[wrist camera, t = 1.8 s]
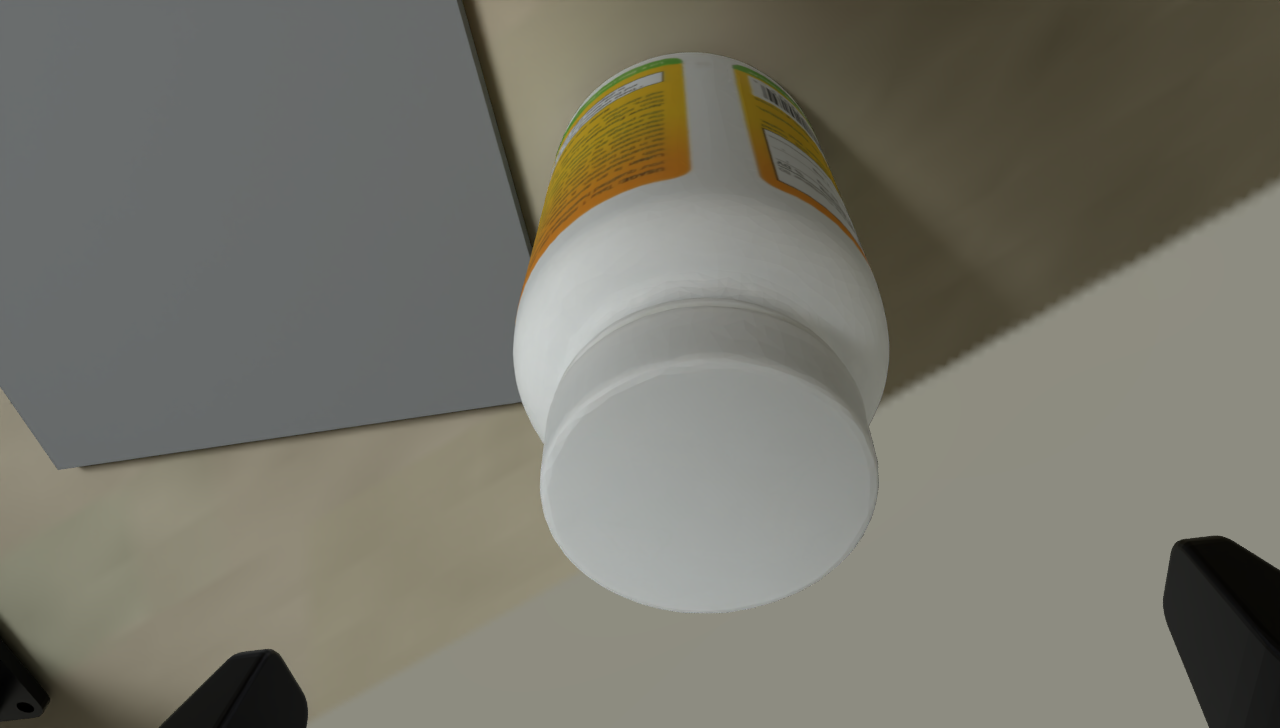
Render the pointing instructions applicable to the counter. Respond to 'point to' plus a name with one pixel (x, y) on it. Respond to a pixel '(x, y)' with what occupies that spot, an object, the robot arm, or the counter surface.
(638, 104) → the supplement bottle
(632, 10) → the counter surface
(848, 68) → the counter surface
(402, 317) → the mat
